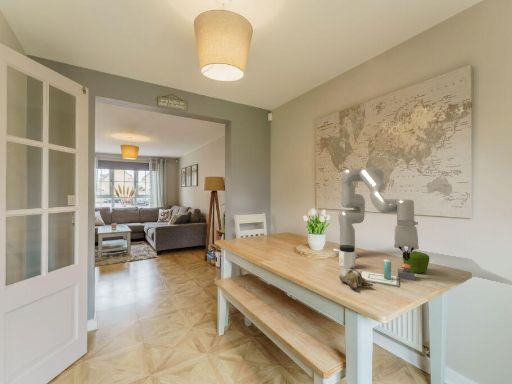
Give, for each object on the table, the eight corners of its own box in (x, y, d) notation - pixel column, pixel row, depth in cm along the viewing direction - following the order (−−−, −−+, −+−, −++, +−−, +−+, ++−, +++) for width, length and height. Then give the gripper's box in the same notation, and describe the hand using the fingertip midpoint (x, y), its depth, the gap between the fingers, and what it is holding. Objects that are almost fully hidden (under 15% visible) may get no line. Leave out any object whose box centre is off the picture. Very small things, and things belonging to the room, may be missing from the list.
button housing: (397, 278, 121) (397, 272, 121) (397, 274, 127) (397, 268, 128) (414, 280, 118) (414, 274, 118) (413, 276, 124) (413, 270, 124)
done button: (400, 274, 122) (400, 265, 122) (400, 271, 126) (400, 263, 126) (411, 275, 120) (411, 266, 120) (410, 273, 124) (410, 264, 124)
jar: (336, 265, 144) (336, 245, 144) (347, 264, 146) (347, 244, 146) (346, 269, 135) (346, 248, 135) (358, 268, 138) (358, 247, 138)
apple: (434, 276, 125) (434, 254, 125) (408, 274, 127) (407, 253, 127) (422, 268, 137) (422, 248, 137) (399, 267, 140) (398, 247, 140)
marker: (383, 279, 118) (383, 260, 119) (383, 277, 121) (383, 259, 121) (391, 280, 117) (391, 261, 117) (391, 278, 120) (391, 260, 120)
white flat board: (356, 280, 119) (356, 278, 119) (360, 271, 132) (360, 270, 132) (399, 287, 110) (399, 285, 110) (398, 277, 123) (398, 275, 123)
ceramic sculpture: (350, 261, 121) (374, 272, 107) (349, 278, 121) (374, 291, 107) (332, 263, 117) (356, 275, 103) (332, 281, 117) (355, 295, 103)
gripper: (422, 223, 122) (423, 260, 122) (389, 222, 130) (389, 256, 129) (424, 225, 116) (425, 263, 115) (388, 223, 123) (389, 259, 123)
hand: (406, 259), depth 122 cm, fingers closed
